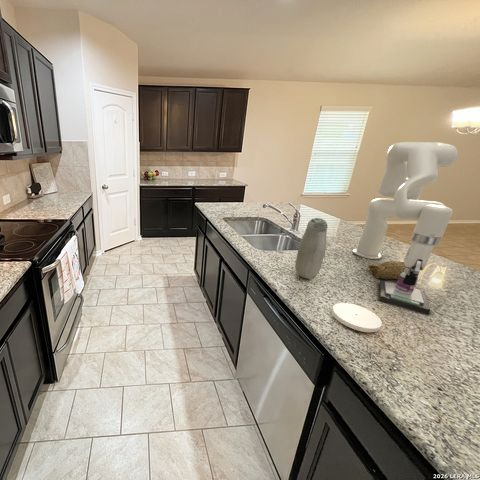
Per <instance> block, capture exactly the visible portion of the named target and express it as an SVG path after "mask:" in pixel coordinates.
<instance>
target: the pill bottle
mask: <svg viewBox="0 0 480 480" xmlns="http://www.w3.org/2000/svg"><path fill="white" fill-rule="evenodd" d="M408 271H409V268H405V270H404V272H402V273H401V274H400V276H399V278H398V279H397V281H396V283H395V284H396V286H395V290H396V291H398V292H400V293H403V294H412V292H413V290H414V289H416V286H417V283H418V282H419V277H418V278H417V280H416V282H415V285H414V286H411V285H407V284H403V281H404V278H405V276H406V274H408ZM411 271H414V270H413V269H412V270H411Z"/></svg>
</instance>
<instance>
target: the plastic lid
mask: <svg viewBox="0 0 480 480" xmlns="http://www.w3.org/2000/svg"><path fill="white" fill-rule="evenodd" d="M331 315H332V316H333V317H334V319H335V320H336V321H338V322H339V323H341V324H342V325H344V326H346V327H348V328H350V329H353V330H356V331H359V332H364V333H376V332H379V331H380V330H381V328H382V326H383V321H382V319H381V318H380V317H379V316H378V315H377V314H376V313H374V312H373V311H371V310H370V309H368V308H366V307H364V306H361V305H357V304H354V303H349V302H348V303H347V302H338V303H335V304H333V306H332V307H331Z"/></svg>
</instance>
